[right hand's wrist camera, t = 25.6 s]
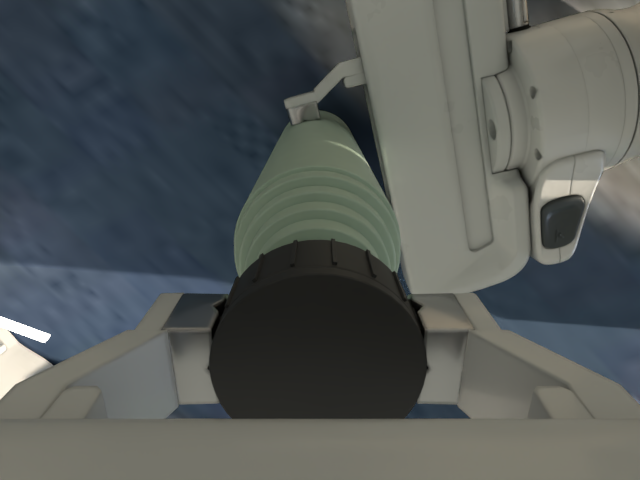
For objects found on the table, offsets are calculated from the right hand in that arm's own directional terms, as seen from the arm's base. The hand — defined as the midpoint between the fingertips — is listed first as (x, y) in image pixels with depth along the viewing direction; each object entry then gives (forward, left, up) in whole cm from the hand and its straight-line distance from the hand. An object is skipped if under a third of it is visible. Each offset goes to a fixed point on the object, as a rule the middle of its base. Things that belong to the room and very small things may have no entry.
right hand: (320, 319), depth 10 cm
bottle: (0, 0, -23) cm, 23 cm away
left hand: (-1, 0, -17) cm, 17 cm away
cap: (0, 0, +2) cm, 2 cm away
